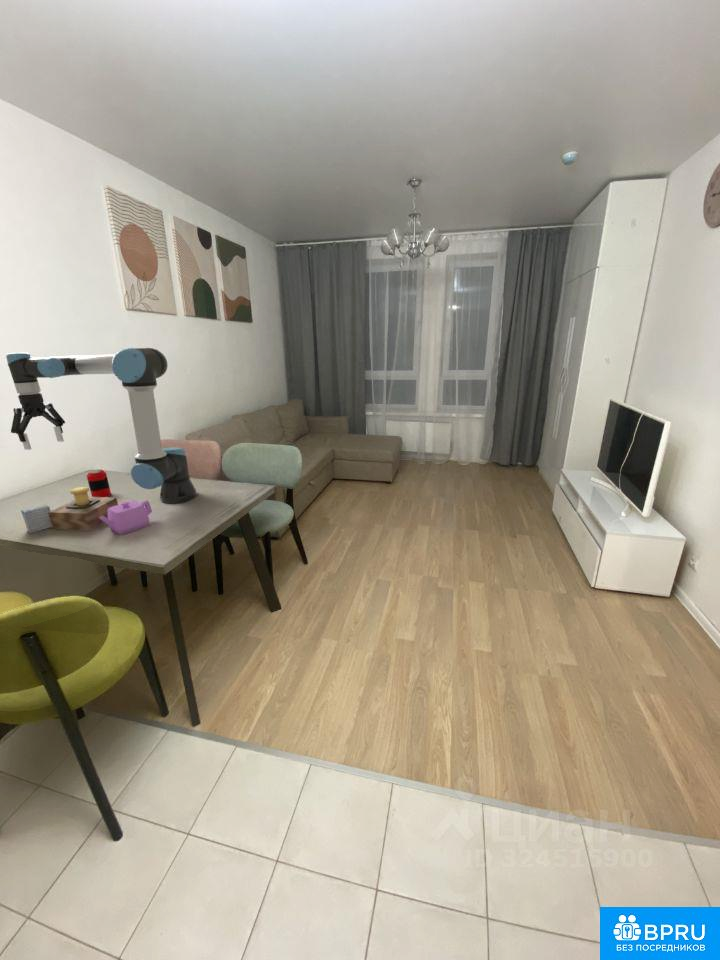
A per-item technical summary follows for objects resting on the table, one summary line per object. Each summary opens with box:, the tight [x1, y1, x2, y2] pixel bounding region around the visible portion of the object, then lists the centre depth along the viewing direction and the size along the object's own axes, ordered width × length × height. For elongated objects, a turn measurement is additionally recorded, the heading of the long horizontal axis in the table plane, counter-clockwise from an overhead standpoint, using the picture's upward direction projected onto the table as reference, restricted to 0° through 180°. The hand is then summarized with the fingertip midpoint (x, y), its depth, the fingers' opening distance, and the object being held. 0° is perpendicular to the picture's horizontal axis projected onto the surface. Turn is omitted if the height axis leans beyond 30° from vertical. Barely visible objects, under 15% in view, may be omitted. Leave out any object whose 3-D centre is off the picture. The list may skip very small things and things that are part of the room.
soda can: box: [86, 469, 112, 497], centre depth 184 cm, size 8×8×12 cm
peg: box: [69, 486, 90, 506], centre depth 156 cm, size 6×6×8 cm
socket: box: [48, 496, 119, 531], centre depth 158 cm, size 16×16×8 cm
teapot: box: [99, 500, 153, 535], centre depth 151 cm, size 18×10×10 cm, turn 142°
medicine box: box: [21, 503, 53, 534], centre depth 152 cm, size 8×4×9 cm, turn 141°
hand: (45, 445), depth 166 cm, fingers open, 13 cm apart
